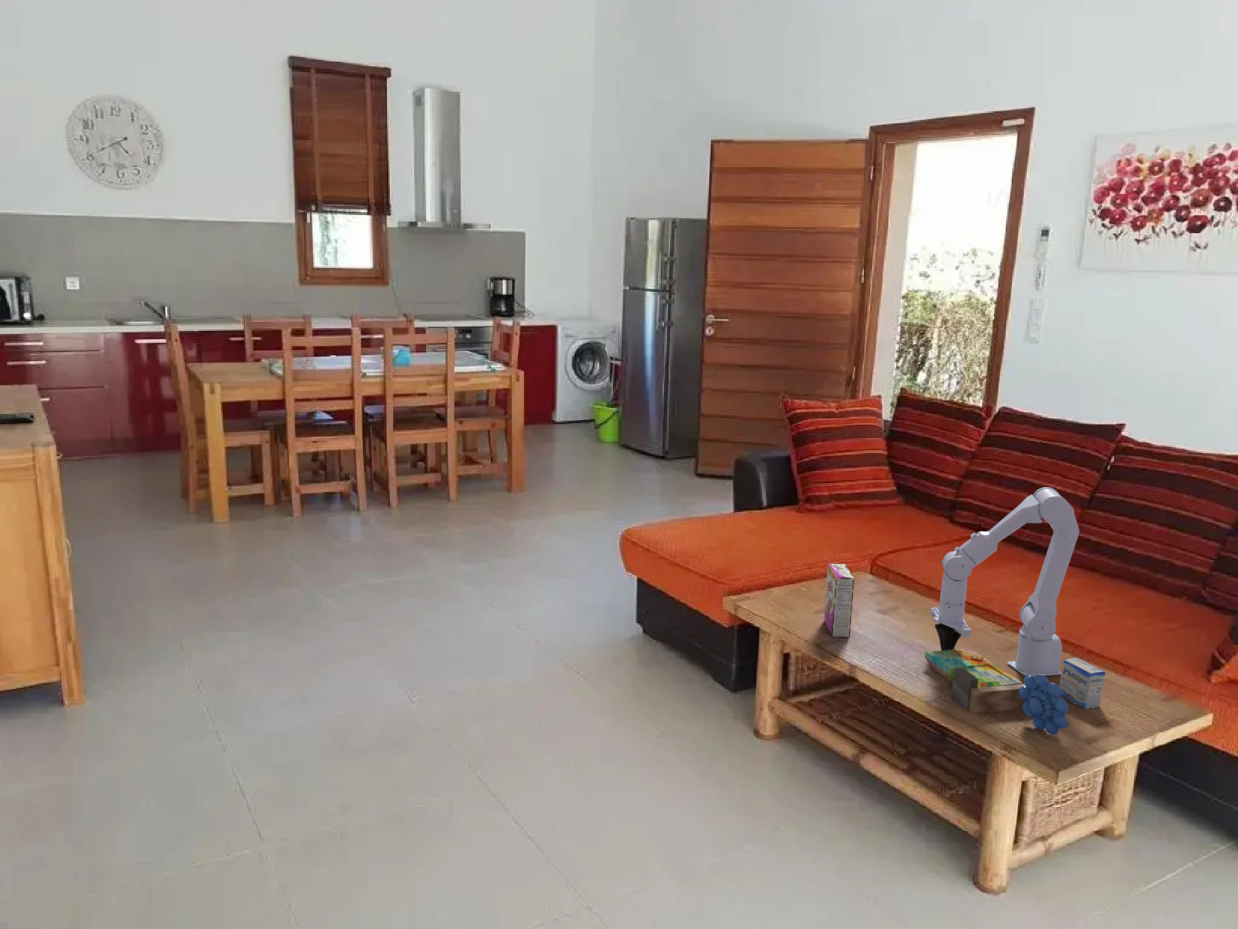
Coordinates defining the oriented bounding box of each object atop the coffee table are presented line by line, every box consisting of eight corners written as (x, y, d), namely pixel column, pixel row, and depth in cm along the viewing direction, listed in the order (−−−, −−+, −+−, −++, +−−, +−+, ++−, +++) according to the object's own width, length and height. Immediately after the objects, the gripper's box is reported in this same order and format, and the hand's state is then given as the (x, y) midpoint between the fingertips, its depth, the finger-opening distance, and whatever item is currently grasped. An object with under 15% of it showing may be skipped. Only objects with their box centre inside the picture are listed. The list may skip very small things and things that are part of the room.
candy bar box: (822, 621, 258) (827, 562, 254) (841, 621, 258) (846, 563, 254) (830, 637, 247) (835, 577, 244) (850, 638, 247) (855, 577, 244)
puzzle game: (967, 644, 234) (1023, 679, 215) (965, 662, 235) (1020, 698, 216) (925, 648, 230) (978, 684, 212) (923, 666, 232) (976, 704, 213)
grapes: (1002, 722, 205) (1009, 669, 202) (1023, 715, 208) (1030, 663, 206) (1050, 746, 195) (1058, 692, 192) (1072, 739, 198) (1079, 685, 196)
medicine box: (1057, 695, 219) (1062, 659, 217) (1072, 692, 220) (1077, 656, 218) (1085, 710, 211) (1090, 673, 209) (1100, 707, 213) (1106, 671, 211)
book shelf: (1031, 690, 220) (1035, 662, 219) (1054, 706, 213) (1058, 677, 211) (951, 697, 216) (954, 668, 214) (971, 714, 208) (975, 684, 206)
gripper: (921, 591, 237) (916, 643, 240) (954, 613, 224) (948, 667, 227) (947, 590, 239) (941, 641, 242) (981, 611, 225) (974, 665, 228)
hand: (946, 654), depth 234 cm, fingers closed
